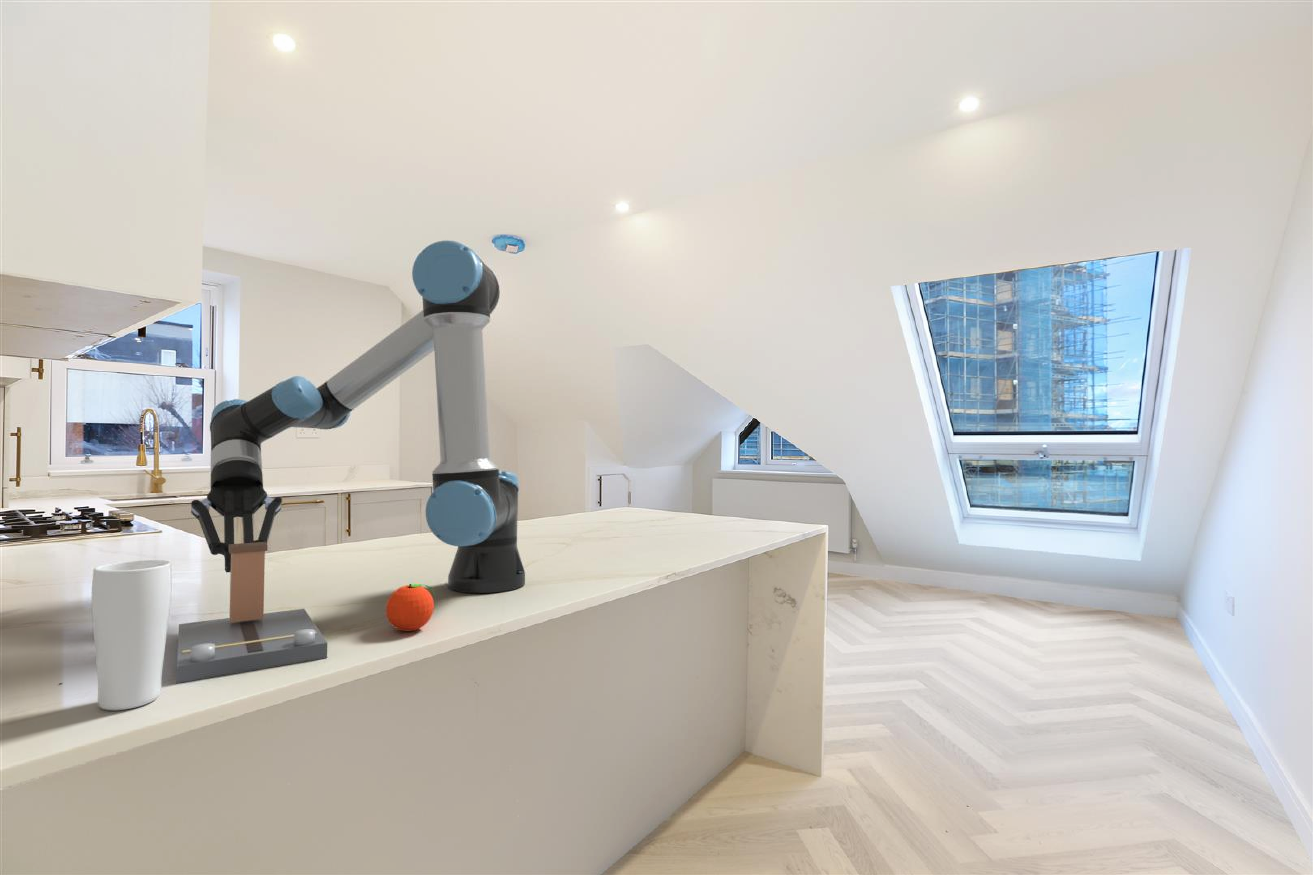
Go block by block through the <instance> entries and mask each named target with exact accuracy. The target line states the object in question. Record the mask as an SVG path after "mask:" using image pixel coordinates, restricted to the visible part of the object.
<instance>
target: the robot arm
mask: <svg viewBox="0 0 1313 875" xmlns="http://www.w3.org/2000/svg"><path fill="white" fill-rule="evenodd" d="M411 275H412V276H411V277H412V278H411V279H412V281H413V285H414V287H415V289H416V291H417V293H418V294H419V295H420V297H422V310H421V311H419V312H418V313H417V314H415V315H414V316H412V317H411V318H410V319H409V320H407V321H406V322H405V323H403V324H401V325H400V327H397V329H395V330H394V331H393V332H391V333H390V334H388V335H387V336H385V338H383V339H381V340H380V341H379V342H377V343H376V344H375V345H374V346H371V348H370V349H368V350H367V351H365V352H364V353H363V354H361V355H360V356H359V357H357V358H355V360H353V361H352V362H351V363H349V364H347V365H346V366H345V367H344V368H342V369H341V370H339V371H338V372H337V373H336V374H334V375H333V376H331V377H330V378H329V379H327V380H326V381H325V382H324V383H322V384H320V385H319V386H318V387H316V386H315V385H314V384H313V383H312V382H311V381H310V380H308V379H307V378H305V377H304V376H300V375H296V376H292V377H290V378H287V379H286V380H284V381H280V382H277V383H276V384H275V386H273V387H271V388H269V389H267V390H266V391H264V392H262V393H260V394H259V395H257V396H255V397H253V398H252V399H250V400H244V399H239V398H235V399H232V400H223V401H221V402H219V403H218V404H217V405H216V406H215V407H214V408H213V409H212V412H211V418H210V423H209V431H210V491H209V492H208V494H207V496H206V497H205V498H204V499H202V500H199V499H194V500H191V504H190V505H191V506H190V510H191V511H190V512H191V515H193V516H194V517H195V519H197V520H198V522H199V524H200V528H201V530H202V533H203V535H204V538H205V541H206V544H207V547H208V549H209V551H210V554H212V555H214V556H217V555H222V556H223V557H224V571H225V572H226V573H231V554H230V552H229V544H235V521H234V520H235V519H236V518H242V519H241V520H242V534H243V535H242V536H243V539H242V540H243V543H256V542H265V543H266V544H267V545H268V541H269V538H270V534H271V531H272V527H273V523H274V520H275V517H276V516H277V514H278V513H279V512H280V511H281V510H282V503H283V498H281V497H280V496H279V497H277V496H276V497H274V498H273V497H270V496H268V493H267V491H266V490H265V489H264V479H263V478H264V477H263V476H264V474H263V471H262V470H263V461H262V443H264V442H266V441H268V440H270V439H271V438H273V437H275V436H276V435H278V434H280V433H283V432H284V431H286V430H288V429H290V428H303V429H304V428H305V429H306V428H307V429H316V430H317V429H319V430H332V429H337V428H340V427H342V426H343V425H345V424H346V423H347V422H348V420H349V418H350V415H351V412H352V411H353V410H355V409H356V408H358V407H359V406H360V405H362V404H363V403H365V402H366V401H367V400H369V399H370V398H372V396H374V395H375V394H377V393H378V392H379V391H380V390H382V389H384V388H385V387H386V386H388V385H389V384H390V383H392V382H394V380H396V379H397V378H399V377H400V376H401V375H403V374H404V373H405V372H407V371H408V370H409V369H411V368H412V367H414V366H415V365H416V364H418V363H419V362H421V361H422V360H424V358H426V357H427V356H429V355H430V354H432V353H433V352H434V365H435V366H434V368H435V383H436V384H435V385H436V403H437V404H436V406H437V422H438V437H439V438H438V439H439V454H440V455H439V456H440V462H439V464H438V465H436V467H435V468H434V469H433V470H432V471H431V472H432V473H431V474H432V493H431V494H430V495H429V497H428V500H427V502H426V506H425V519H426V523H427V526H428V528H429V530H430V531H431V533H432V534H433V535H434V536H435V537H436V538H437V539H438V540H440V541H441V542H443V543H444V544H446V545H450V546H453V547H457V549H456V552H455V554H454V558H453V561H452V564H451V567H450V570H449V572H448V576H447V577H448V578H447V588H448V589H450V590H451V591H455V592H461V593H471V594H474V593H475V594H483V593H484V594H485V593H486V594H487V593H500V592H506V591H511V590H512V591H513V590H517V589H519V588H522V587H523V586H524V585H526V572H525V568H524V565H523V562H522V558H521V555H520V551H519V549H518V511H519V510H518V509H519V508H518V507H519V506H518V505H519V501H518V500H519V490H520V487H519V479H518V476H517V474H516V473H514V472H510V471H501V470H500V469H499V467H498V465H496V464H495V462H493V461H492V460H491V458H490V444H489V443H490V440H489V424H488V423H489V422H488V407H487V392H486V390H487V389H486V373H485V371H486V370H485V354H484V338H483V335H484V334H483V330H484V328H486V326H487V325H488V324H489V323H490V322H491V314H492V313H493V312H494V310H495V309H496V307H497V305H498V303H499V300H500V295H501V294H500V285H499V280H498V278H497V276H496V275H495V273H494V271H493V270H492V269H491V268H490V267H488V266H487V264H486V263H485V262H484V261H483V260H482V259H481V258H480V257H479V254H477V253H476V252H475V251H474V250H473V249H472V248H470V247H468V246H466V245H464V244H462V243H461V242H460V241H455V240H448V239H447V240H446V239H445V240H440V241H436V242H435V241H434V242H433V243H431V244H429V245H427V246H426V247H425V248H424V249H422V251H421V252H420V253H419V254H418V255H417V256H416V258H415V260H414V262H413V266H412V272H411ZM263 505H264V509H265V514H264V517H263V521H262V524H261V528H260V531H259V535H258V538H257V540H254V522H253V521H254V520H253V515H254V514H256V513H257V511H258V510H260V508H261V507H262V506H263ZM210 507H211V508H212V509H214V510H215V512H217V513H218V514H219V516H222V517H223V527H224V529H223V532H224V533H223V535H224V536H223V538H224V540H223V541H224V542H222V541H221V540H220V537H219V534H218V532H217V530H216V527H215V524H214V521H213V519H212V517H211V514H210ZM234 518H235V519H234Z"/></svg>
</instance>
